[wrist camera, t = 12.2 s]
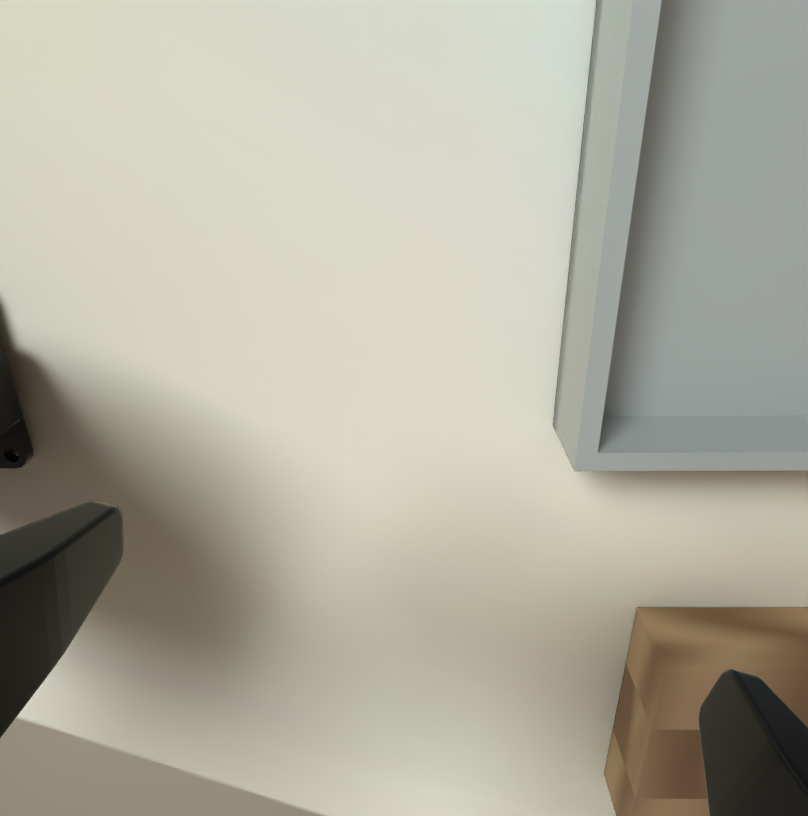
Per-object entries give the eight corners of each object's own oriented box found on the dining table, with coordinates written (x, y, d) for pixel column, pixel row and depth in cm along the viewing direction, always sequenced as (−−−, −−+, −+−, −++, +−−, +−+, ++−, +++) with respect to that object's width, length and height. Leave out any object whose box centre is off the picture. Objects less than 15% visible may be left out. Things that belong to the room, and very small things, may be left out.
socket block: (604, 773, 28) (624, 843, 25) (636, 607, 23) (665, 670, 21) (824, 775, 28) (868, 845, 25) (896, 607, 23) (960, 671, 21)
